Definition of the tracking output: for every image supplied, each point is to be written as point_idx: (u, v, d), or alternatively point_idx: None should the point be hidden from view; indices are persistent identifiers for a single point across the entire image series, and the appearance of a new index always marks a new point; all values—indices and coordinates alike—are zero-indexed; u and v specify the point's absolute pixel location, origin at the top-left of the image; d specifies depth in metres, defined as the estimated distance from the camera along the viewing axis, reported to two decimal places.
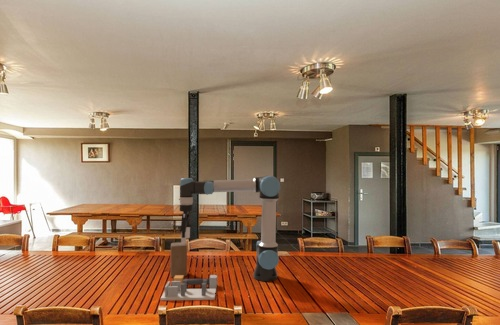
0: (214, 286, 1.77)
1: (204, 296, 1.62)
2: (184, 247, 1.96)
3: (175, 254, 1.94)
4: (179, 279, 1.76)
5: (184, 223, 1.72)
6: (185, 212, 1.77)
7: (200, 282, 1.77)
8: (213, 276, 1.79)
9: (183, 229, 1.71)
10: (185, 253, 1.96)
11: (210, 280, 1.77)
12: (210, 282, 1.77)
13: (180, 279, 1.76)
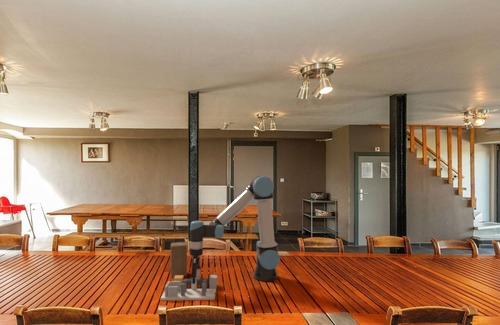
0: (214, 286, 1.77)
1: (204, 296, 1.62)
2: (184, 247, 1.96)
3: (175, 254, 1.94)
4: (179, 279, 1.76)
5: (195, 269, 1.71)
6: (195, 257, 1.75)
7: (200, 282, 1.77)
8: (213, 276, 1.79)
9: (194, 275, 1.69)
10: (185, 253, 1.96)
11: (210, 280, 1.77)
12: (210, 282, 1.77)
13: (180, 279, 1.76)
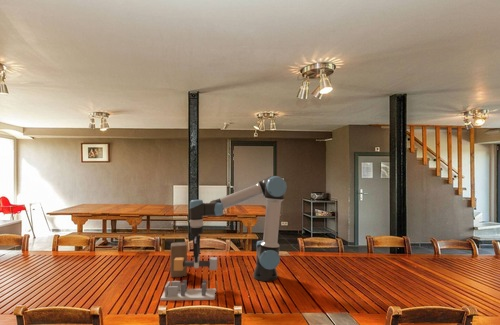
0: (214, 268, 1.77)
1: (204, 296, 1.62)
2: (184, 247, 1.96)
3: (175, 254, 1.94)
4: (179, 261, 1.76)
5: (196, 249, 1.74)
6: (196, 235, 1.76)
7: (200, 264, 1.78)
8: (213, 258, 1.79)
9: (196, 255, 1.74)
10: (185, 253, 1.96)
11: (210, 262, 1.77)
12: (210, 264, 1.77)
13: (180, 261, 1.76)
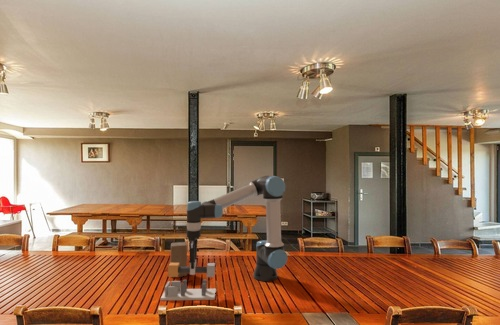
0: (212, 275, 1.65)
1: (204, 296, 1.62)
2: (184, 247, 1.96)
3: (175, 254, 1.94)
4: (174, 266, 1.64)
5: (193, 254, 1.62)
6: (193, 239, 1.64)
7: (197, 270, 1.65)
8: (211, 264, 1.67)
9: (192, 261, 1.62)
10: (185, 253, 1.96)
11: (207, 268, 1.65)
12: (207, 270, 1.65)
13: (175, 266, 1.64)
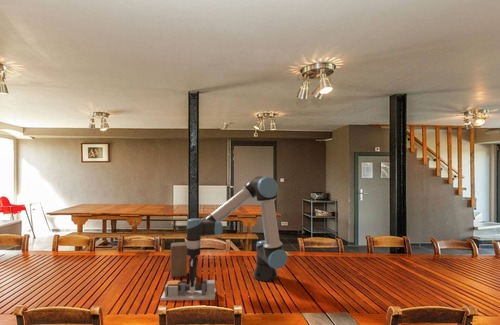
0: (212, 292, 1.65)
1: (204, 296, 1.62)
2: (184, 247, 1.96)
3: (175, 254, 1.94)
4: (174, 285, 1.64)
5: (192, 273, 1.61)
6: (192, 257, 1.63)
7: (197, 288, 1.65)
8: (210, 281, 1.67)
9: (192, 279, 1.62)
10: (185, 253, 1.96)
11: (207, 286, 1.65)
12: (207, 288, 1.65)
13: (175, 285, 1.64)
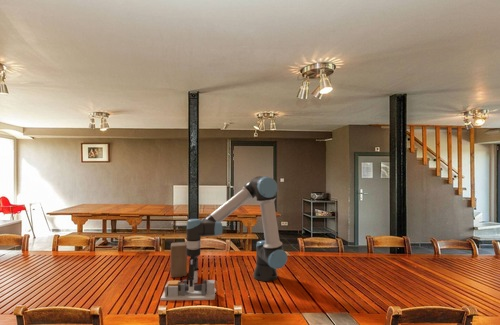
0: (212, 292, 1.65)
1: (204, 296, 1.62)
2: (184, 247, 1.96)
3: (175, 254, 1.94)
4: (174, 285, 1.64)
5: (192, 271, 1.59)
6: (192, 257, 1.63)
7: (197, 288, 1.65)
8: (210, 281, 1.67)
9: (191, 278, 1.57)
10: (185, 253, 1.96)
11: (207, 286, 1.65)
12: (207, 288, 1.65)
13: (175, 285, 1.64)
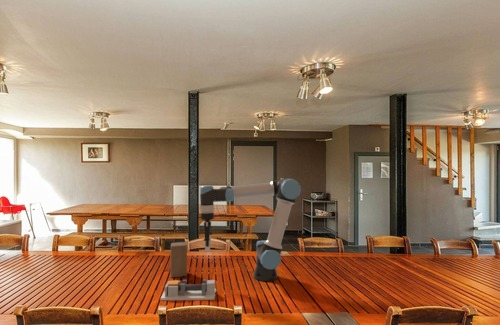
0: (212, 292, 1.65)
1: (204, 296, 1.62)
2: (184, 247, 1.96)
3: (175, 254, 1.94)
4: (174, 285, 1.64)
5: (207, 232, 1.70)
6: (207, 220, 1.75)
7: (197, 288, 1.65)
8: (210, 281, 1.67)
9: (207, 238, 1.69)
10: (185, 253, 1.96)
11: (207, 286, 1.65)
12: (207, 288, 1.65)
13: (175, 285, 1.64)
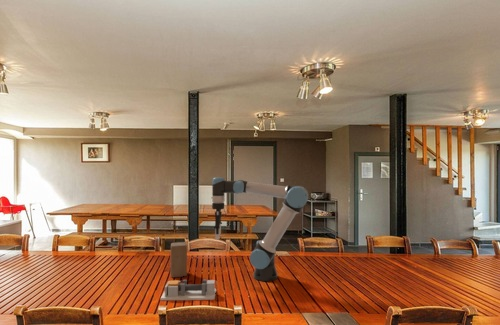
0: (212, 292, 1.65)
1: (204, 296, 1.62)
2: (184, 247, 1.96)
3: (175, 254, 1.94)
4: (174, 285, 1.64)
5: (218, 220, 1.82)
6: (218, 210, 1.86)
7: (197, 288, 1.65)
8: (210, 281, 1.67)
9: (217, 226, 1.80)
10: (185, 253, 1.96)
11: (207, 286, 1.65)
12: (207, 288, 1.65)
13: (175, 285, 1.64)
